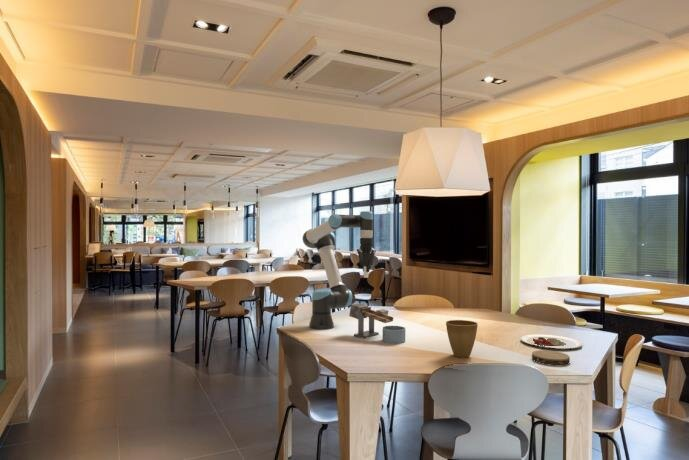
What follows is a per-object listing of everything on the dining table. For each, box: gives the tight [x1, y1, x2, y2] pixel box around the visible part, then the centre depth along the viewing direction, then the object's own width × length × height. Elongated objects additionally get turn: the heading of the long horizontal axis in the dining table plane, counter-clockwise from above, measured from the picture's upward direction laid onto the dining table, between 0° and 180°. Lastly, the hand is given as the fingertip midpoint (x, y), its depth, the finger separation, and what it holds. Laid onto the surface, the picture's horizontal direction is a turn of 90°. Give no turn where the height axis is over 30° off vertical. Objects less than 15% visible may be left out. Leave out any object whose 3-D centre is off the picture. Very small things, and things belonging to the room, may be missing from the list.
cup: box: [382, 325, 406, 345], centre depth 247 cm, size 12×12×7 cm
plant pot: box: [445, 319, 479, 359], centre depth 219 cm, size 15×15×16 cm
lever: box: [348, 302, 394, 324], centre depth 260 cm, size 25×14×7 cm, turn 50°
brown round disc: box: [531, 349, 571, 366], centre depth 211 cm, size 16×16×3 cm
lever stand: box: [353, 313, 380, 339], centre depth 260 cm, size 8×13×14 cm, turn 140°
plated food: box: [520, 333, 583, 350], centre depth 244 cm, size 30×30×3 cm
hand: (366, 277), depth 268 cm, fingers closed
